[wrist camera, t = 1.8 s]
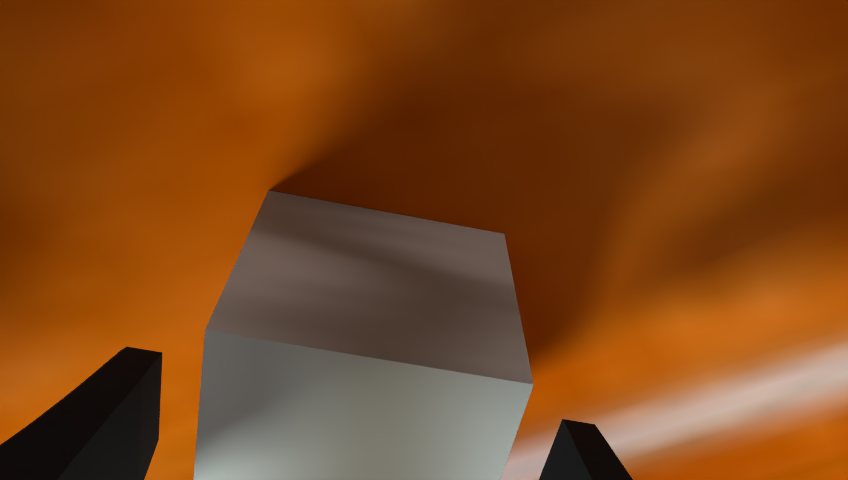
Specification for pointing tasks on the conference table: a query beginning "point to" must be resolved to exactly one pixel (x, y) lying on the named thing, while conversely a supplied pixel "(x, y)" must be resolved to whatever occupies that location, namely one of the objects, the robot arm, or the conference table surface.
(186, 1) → the conference table surface
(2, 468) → the robot arm
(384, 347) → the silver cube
